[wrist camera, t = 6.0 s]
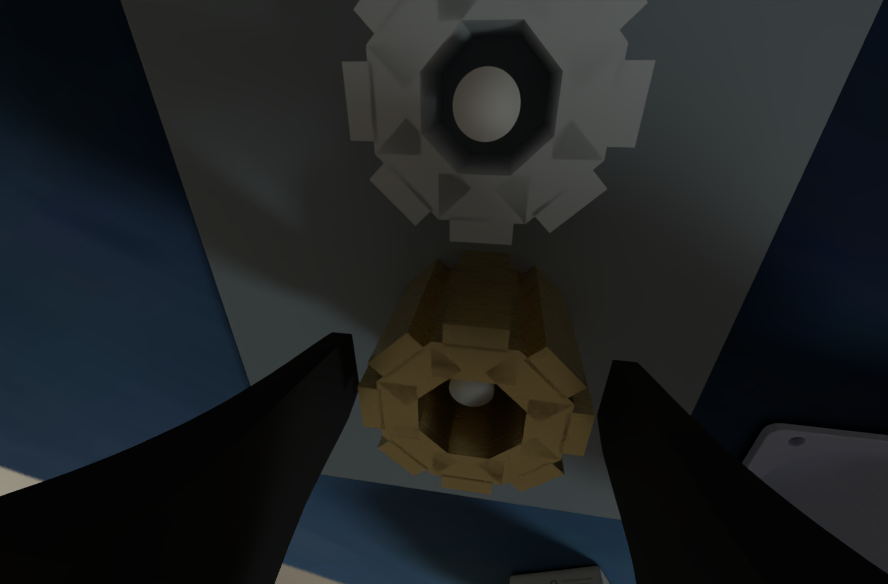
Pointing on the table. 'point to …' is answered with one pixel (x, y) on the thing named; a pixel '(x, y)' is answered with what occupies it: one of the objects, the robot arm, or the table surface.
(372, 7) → the gear board
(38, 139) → the table surface
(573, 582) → the small box
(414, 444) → the brass gear
